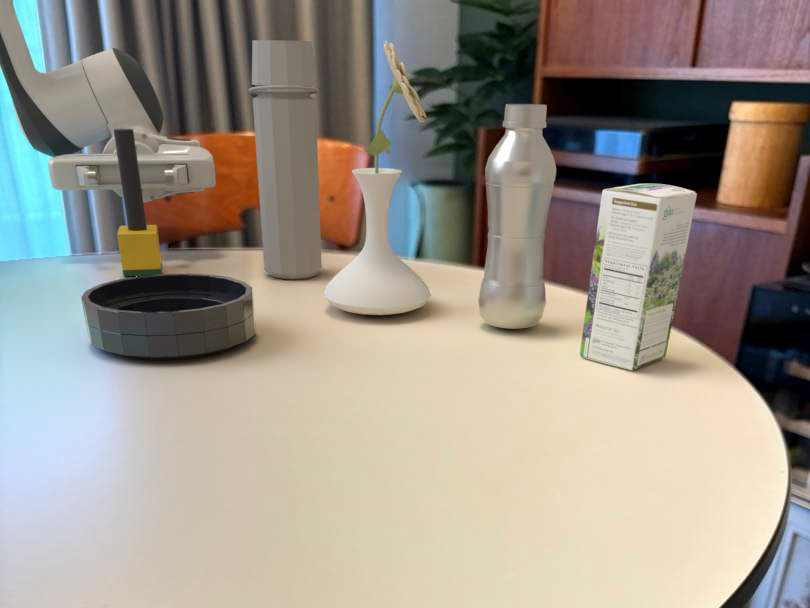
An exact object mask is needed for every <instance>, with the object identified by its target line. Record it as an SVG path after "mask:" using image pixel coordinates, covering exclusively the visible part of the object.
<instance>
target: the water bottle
mask: <svg viewBox="0 0 810 608" xmlns="http://www.w3.org/2000/svg"><path fill="white" fill-rule="evenodd" d="M251 48H252V50H251V52H252V53H251V61H252V62H251V85H252V87H250V88H248V93H250V94H252V95H257V96H255V97H252V109H253V110H252V111H253V122H254V123H253V125H254V139H255V155H256V168H257V169H256V170H257V183H258V197H259V211H260V212H259V213H260V226H261V227H260V228H261V242H262V255H263V257H262V258H263V269H264V271H265V273H266V274H268V275H269V276H271V277H273V278H275V279H281V280H304V279H310V278H313V277H316V276H317V275H318V274H319V272H320V271H321V269H322V268H323V266H322V263H323V262H322V238H321V209H320V208H321V207H320V182H319V179H320V178H319V153H318V152H319V151H318V149H319V148H318V125H317V123H318V122H317V102H316V101H317V98H315V97H313V96H311V95H314V94H317V93H319V92H320V89H319V88H317V87H315V86H317V85H318V83H317V75H316V67H315V58H314V48H313V41H309V40H308V41H307V40H285V39H284V40H280V39H276V40H274V39H273V40H272V39H257V40H255V39H254V40H253V39H252V45H251ZM253 85H254V86H253Z"/></svg>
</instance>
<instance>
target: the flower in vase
mask: <svg viewBox="0 0 810 608" xmlns="http://www.w3.org/2000/svg"><path fill="white" fill-rule="evenodd" d="M383 50H384V53H385V56H386V59H387V62H388V65H389V68H390V70H391V72H392V74H393V77H394V80H393V83H392V87H391V89H390V91H389V93H388V95H387V97H386V100H385V102H384V105H383V107H382V110H381V113H380V115H379V118H378V121H377V126H376V133H375V136H374V138H373V140H372V141H371V142H370V143H369V144H368V145H367V146H366V148H365V153H367V154H369V155H371V156H374V167H364V168H363V167H362V168H361V167H360V168H355V169H352V170H351V173H352V174H353V176H354V178H355V179H356V181H357V182H358V185H359V187H360V190H361V193H362V197H363V202H364V209H365V221H366V224H365V225H366V229H365V230H366V231H365V232H366V233H365V241H364V244H363V248H362V249H361V251H360V252H359V253H358V255H356V257H354V259H352V260H351V261H350V262H349V263H348V264H347V265H345V266H344V267H343V268H342V269H340V271H339V272H338V273H336V274H335V275H334V276H333V278H332V279H331V280H330V281H329V282H328V283H327V285H326V287H325V290H324V293H323V297H324V298H325V299H326V301H327V303H329V304H330V305H331V306H333V307H335V308H337V309H340V310H341V311H344V312H347V313H353V314H359V315H369V316H387V315H388V316H389V315H397V314H404V313H408V312H411V311H414V310H417V309H419V308H421V307H423V306H425V305H426V304H427V303H428V302H429V300H430V298H431V295H432V294H431V291H430V288H429V286H428V284H427V283H426V281H424V280H423V278H421V276H420V275H418V274H417V272H415V271H414V270H413V269H412V268H411V267H410V266H408V265H407V263H405V262H404V261H403V260H402V259H401V258H400V257H399V256H397V254H396V253H395V251H394V250H393V249H392V246H391V244H390V238H389V214H390V213H389V212H390V205H391V204H390V203H391V199H392V194H393V191H394V188H395V185H396V183H397V181H398V180H399V178H400V176H401V175H402V173H403V171H402V169H396V168H387V167H379V155H381V154H382V153H383V152H385V153H386V154H388V155H389V154H390V153H391V147H390V146H391V144H392V142H391V140H389V139H388V138H387V136H386V134H385V132H384V131H383V130H382V129H381V128H382V123H383V121H384V117H385V114H386V112H387V110H388V107H389V104H390V102H391V100H392V98H393V96H394V94H395V93H396V94H398V95H403V97H404V99H405V101H406V103H407V106H408V107H409V109H410V110H411V112H412V114H413V115H414V117H415V118H416V119H417V121H418V122H419V123H425V121H426V120H425V119H426V118H427V114H426V112H425V110H424V109H423V108H422V107H421V105H420V103H419V102H420V96H419V95H418V92H417V91H416V90H415V89H414V87H412V86H411V83H410V81H409V79H408V73H407V69H406V66H405V64H404V63H403V61H399V58H398V54H397V51H396V47H395V45H394V44H393V42H389V43H388V40H387V39H385V41H384V43H383ZM424 118H425V119H424Z"/></svg>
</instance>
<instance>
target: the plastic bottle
mask: <svg viewBox="0 0 810 608" xmlns="http://www.w3.org/2000/svg"><path fill="white" fill-rule="evenodd" d="M547 108H548V107H547V104H538V103H536V104H535V103H506V104H505V107H504V118H503V121H502V127H503V128H505V132H504V135H503V136H502V137H501V139H500V140H499V141H498V142H497V144H496V145H495V146H494V148H493V150H492V152H491V153H490V155H489V156H488V158H487V161H486V165H485V168H484V179H485V190H486V191H485V192H486V202H487V228H488V232H487V248H486V256H485V264H484V271H483V278H482V279H481V280H482V281H481V284H480V288H479V294H478V311H479V315H480V317H481V318H482V320H483V322H484V323H485V324H487V326H491V327H495V328H500V329H507V330H518V329H527V328H532V327H535V326H536V325H538V323H539V322H540V320H541V319H542V318H543V315H544V312H545V308H546V304H547V301H546V300H547V299H546V286H545V285H546V284H545V280H544V278H545V277H544V273H545V272H544V271H545V270H544V265H545V263H544V262H545V261H544V254H545V253H544V252H545V251H544V249H545V247H544V246H545V245H544V244H545V238H546V234H545V233H546V231H545V230H546V229H547V224H548V222H547V221H548V216H549V215H548V214H549V209H550V205H551V200H552V196H553V191H554V186H555V184H554V183H555V181H556V177H557V165H556V161H555V158H554V155H553V153H552V150H551V148H550V147H549V144H548V143H547V141H546V139H545V138H544V136H543V129H545V128H547V124H548V123H547V121H546V120H547V111H548V110H547Z"/></svg>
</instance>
